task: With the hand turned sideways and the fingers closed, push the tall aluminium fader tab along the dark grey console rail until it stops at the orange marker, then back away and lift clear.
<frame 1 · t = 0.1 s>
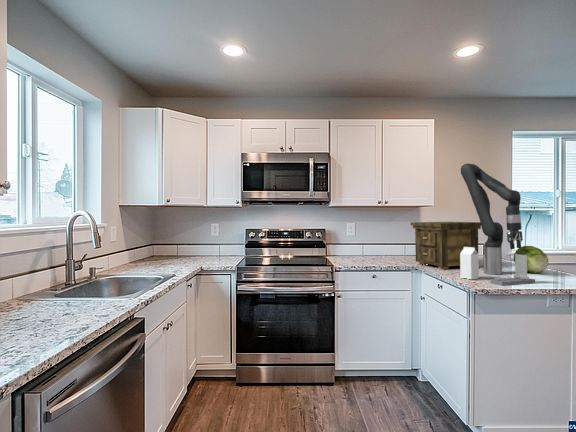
hand: (515, 248, 209), 17 cm above the countertop, tool pointing down, fingers open, 8 cm apart
wooden drawer cabinet: (445, 266, 254), on the countertop
lettuce: (532, 272, 222), on the countertop
fader tab: (521, 266, 192), point 9 cm above the countertop, slide at 0.0 cm
milk carton: (469, 278, 205), on the countertop
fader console: (512, 282, 191), on the countertop
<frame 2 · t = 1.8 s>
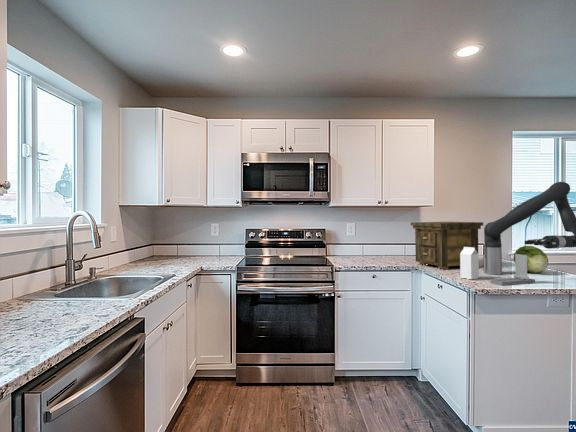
hand: (529, 242, 193), 22 cm above the countertop, tool horizontal, fingers open, 5 cm apart
nothing on the countertop moved.
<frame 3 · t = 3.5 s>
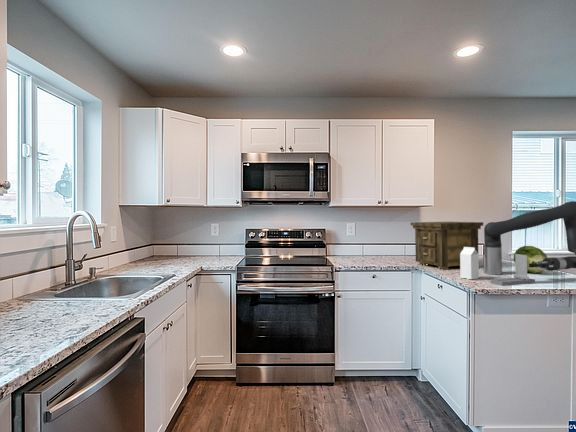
hand: (529, 265, 193), 9 cm above the countertop, tool horizontal, fingers closed
nothing on the countertop moved.
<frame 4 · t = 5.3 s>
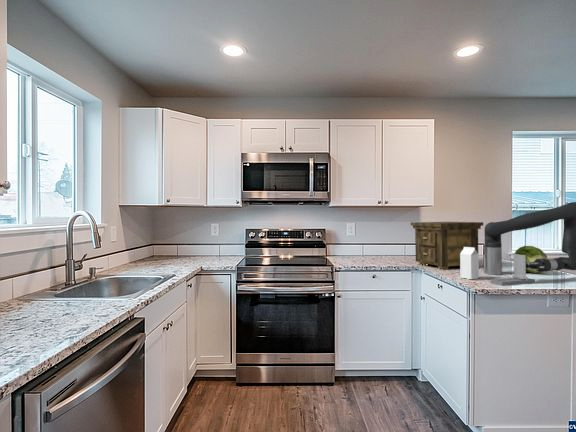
hand: (520, 266, 192), 9 cm above the countertop, tool horizontal, fingers closed
fader tab: (519, 266, 192), point 9 cm above the countertop, slide at 1.1 cm, touching gripper
everything else where it was.
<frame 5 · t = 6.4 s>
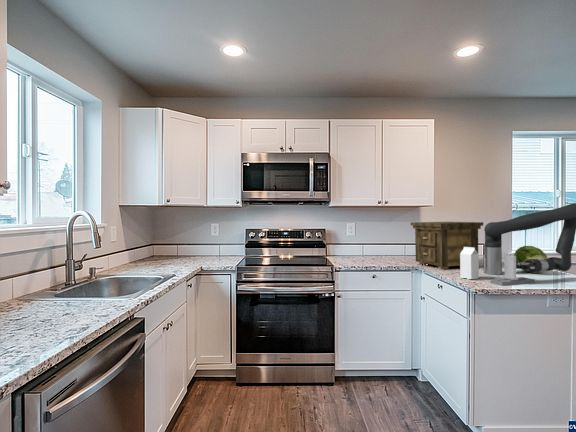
hand: (511, 266, 190), 9 cm above the countertop, tool horizontal, fingers closed
fader tab: (510, 267, 190), point 9 cm above the countertop, slide at 7.5 cm, touching gripper
everything else where it was.
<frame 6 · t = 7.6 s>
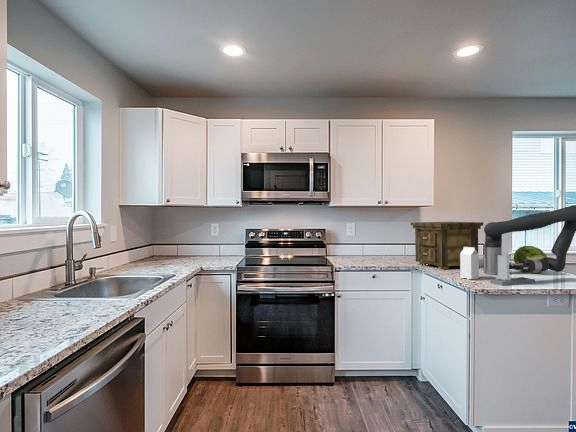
hand: (504, 267, 189), 9 cm above the countertop, tool horizontal, fingers closed
fader tab: (503, 267, 189), point 9 cm above the countertop, slide at 12.1 cm, touching gripper
everything else where it was.
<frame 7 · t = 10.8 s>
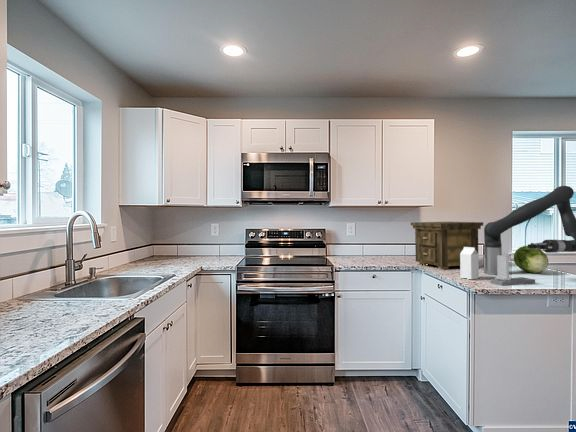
hand: (528, 246, 193), 20 cm above the countertop, tool horizontal, fingers closed
fader tab: (503, 267, 189), point 9 cm above the countertop, slide at 12.3 cm
everything else where it was.
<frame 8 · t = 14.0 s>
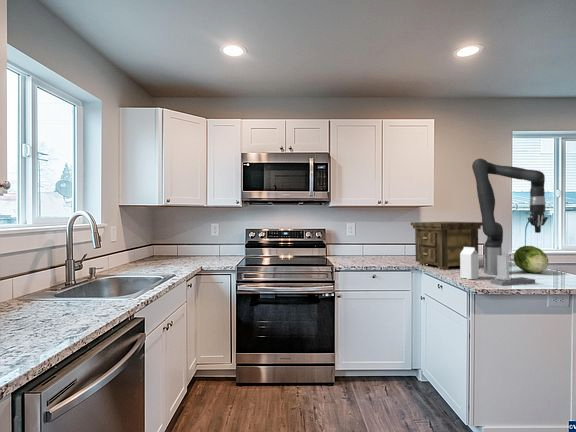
hand: (537, 232, 206), 27 cm above the countertop, tool pointing down, fingers closed
nothing on the countertop moved.
at the end: fader tab slide at 12.3 cm; milk carton moved 0.2 cm from its start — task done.
